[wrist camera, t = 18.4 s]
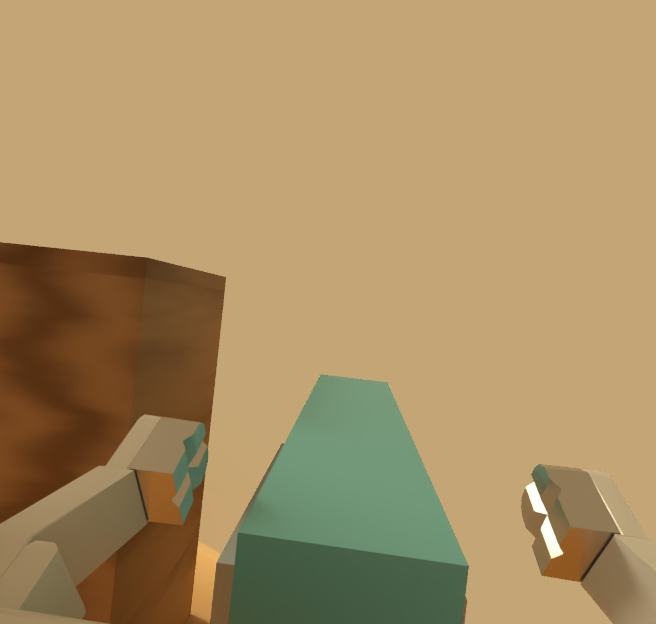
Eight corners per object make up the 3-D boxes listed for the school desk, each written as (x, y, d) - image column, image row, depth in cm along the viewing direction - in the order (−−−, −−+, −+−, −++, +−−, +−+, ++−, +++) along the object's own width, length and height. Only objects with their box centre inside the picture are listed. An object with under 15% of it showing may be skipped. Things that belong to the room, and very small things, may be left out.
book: (216, 730, 8) (237, 532, 8) (314, 433, 28) (320, 374, 28) (447, 771, 8) (471, 566, 8) (381, 441, 28) (388, 382, 28)
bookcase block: (-81, 760, 21) (-30, 239, 20) (79, 595, 33) (112, 265, 32) (92, 793, 20) (147, 257, 20) (190, 612, 32) (225, 277, 32)
